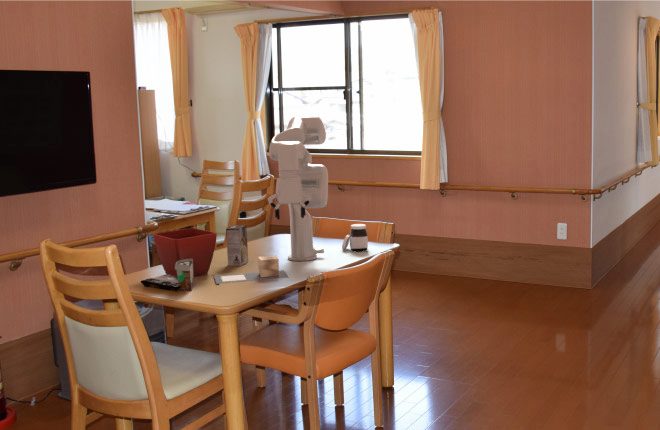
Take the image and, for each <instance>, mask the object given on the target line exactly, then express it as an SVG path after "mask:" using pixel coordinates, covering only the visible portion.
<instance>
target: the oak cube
mask: <svg viewBox="0 0 660 430" xmlns="http://www.w3.org/2000/svg"><path fill="white" fill-rule="evenodd" d="M257 259H258V260H257V263H258V272H259V275H260V277H261V278H267V277H279V271H280V265H279V264H280V262H279V258H278V256H277V255H266V256H265V255H263V256H258V257H257Z"/></svg>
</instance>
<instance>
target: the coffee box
mask: <svg viewBox="0 0 660 430" xmlns="http://www.w3.org/2000/svg"><path fill="white" fill-rule="evenodd" d="M225 234H226V235H225V237H226V252H227V254H226V255H227V266H230V267H233V266H234V267H235V266H236V267H238V266H240V267H242V266H244V265H245V264H246V263H248V262H249V252H248V251H249V248H248V247H249V246H248V232H247V224H234V225H231V226H228V227H227V228H225Z"/></svg>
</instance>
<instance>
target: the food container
mask: <svg viewBox="0 0 660 430" xmlns="http://www.w3.org/2000/svg"><path fill="white" fill-rule="evenodd" d="M175 269H176V270H177V276H178V278H177V282H178V287H179V286H182V288H181V290H180V291H183V292H192V291H193V289H194V286H195V280H194V279H195V278H194V277H195V276H194V275H193V259H185V260H180V261H177V262H176V264H175Z"/></svg>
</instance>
